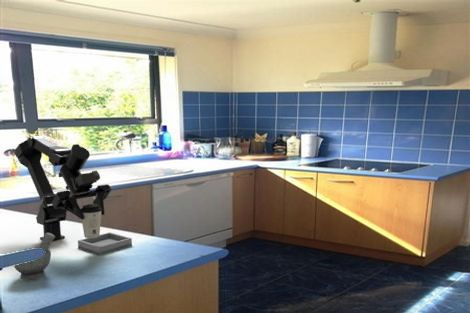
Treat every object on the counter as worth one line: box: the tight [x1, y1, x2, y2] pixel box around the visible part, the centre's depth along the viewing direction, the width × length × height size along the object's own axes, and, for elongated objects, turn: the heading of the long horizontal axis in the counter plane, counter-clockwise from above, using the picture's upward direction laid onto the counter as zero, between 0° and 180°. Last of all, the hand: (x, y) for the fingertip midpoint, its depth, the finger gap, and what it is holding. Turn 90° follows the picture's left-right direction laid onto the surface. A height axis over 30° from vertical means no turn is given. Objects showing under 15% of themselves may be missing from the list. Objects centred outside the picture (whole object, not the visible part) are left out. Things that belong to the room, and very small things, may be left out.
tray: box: [77, 231, 133, 256], centre depth 150 cm, size 13×13×2 cm
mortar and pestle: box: [13, 233, 55, 282], centre depth 123 cm, size 11×9×12 cm
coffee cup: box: [80, 203, 102, 239], centre depth 143 cm, size 7×7×10 cm
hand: (93, 216), depth 142 cm, fingers closed on coffee cup, 7 cm apart
